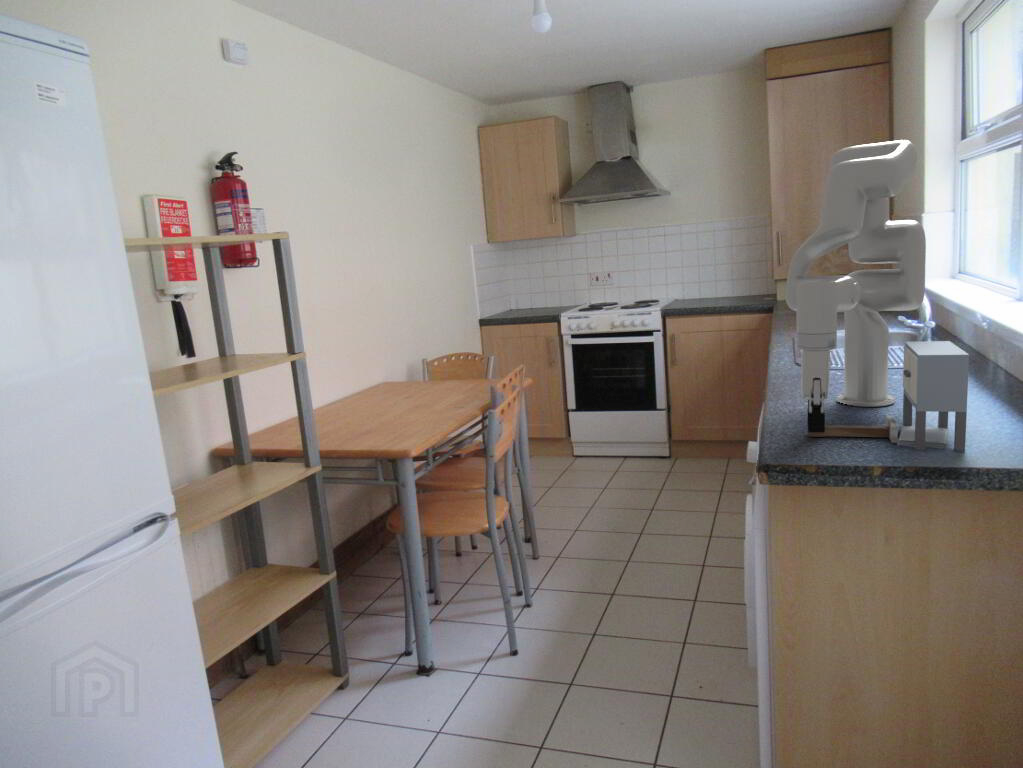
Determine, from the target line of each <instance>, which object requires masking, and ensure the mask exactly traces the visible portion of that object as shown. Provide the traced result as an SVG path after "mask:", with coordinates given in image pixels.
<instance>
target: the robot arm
mask: <svg viewBox="0 0 1023 768" xmlns="http://www.w3.org/2000/svg"><path fill="white" fill-rule="evenodd" d="M917 153H918V152H917V149H916V146H915V145H914V144H913V142H911V141H910V140H907V139H904V140H903V139H900V140H893V141H892V140H891V141H885V142H884V141H883V142H877V143H867V144H865V143H864V144H860V145H853V146H848V147H844V148H841V149H838V150H836V152H834V153H833V154H832V156H831V159H830V170H829V171H828V172H827V173H828V174H827V177H826V183H825V188H824V195H823V200H822V205H821V206H822V207H821V212H820V217H819V222H818V226H817V229H816V230H815V231H814V232H813V233H812V234H810V235H809V236H808V238H806V240H805V241H804V242H803V243H802V244H801V245H800V246H799V248H798V249H797V250H796V252H795V253H794V254H793V257H792V259H791V261H790V265H789V268H788V273H787V278H786V284H785V296H784V297H785V303H786V305H787V306H788V308H789V309H790V310H792V311H795V312H796V349H797V350H799V351H801V359H800V360H801V362H800V363H801V364H800V365H801V366H800V367H801V368H800V369H801V370H800V371H801V372H800V374H801V375H800V376H801V377H800V379H801V380H800V381H801V382H800V383H801V384H800V387H801V388H800V390H801V398H802V399H803V400H804V399H806V398H808V400H809V412H808V411H807V433H808V432H822V433H823V432H824V431H825V425H826V423H825V422H826V421H825V420H826V412H825V400H826V399H827V398H828V397H829V385H830V374H831V371H830V370H831V350H835V349H836V350H837V347H838V346H837V345H838V343H837V340H838V339H837V338H838V337H837V336H838V335H837V334H838V330H837V329H838V313H843V316H844V360H843V361H844V371H843V372H844V373H843V377H844V379H843V382H844V384H843V393H840V394H838V395H837V397H836V402H838V403H839V402H840V403H839V404H841V403H843V404H842V405H845V404H847V406H851V405H852V406H853V407H866V408H867V407H869V408H870V407H871V408H872V407H873V408H875V407H885V406H891V405H893V404H894V403H895V401H896V398H895V396H893V395H891V394H888V385H889V384H888V383H889V381H888V380H889V345H890V343H889V341H890V340H889V339H890V331H889V326H888V324H887V323H886V320H885V319H884V318H883V317H882V315H880V313H879V312H883V311H887V312H888V311H890V312H891V311H897V312H901V311H903V312H904V311H914V310H916V309H919V308H920V307H921V306H922V304H923V302H924V298H925V290H926V258H927V257H926V253H927V249H926V248H927V246H926V245H927V244H926V243H927V239H926V233H925V229H924V227H923V225H922V224H921V223H920V222H919V221H917V220H914V219H904V220H903V219H901V220H891V219H890V198H892V197H894V196H897V195H898V194H899V193H901V192H902V190H903V189H904V187H905V185H906V184H907V183H908V182H909V180H910V179H911V177H912V176H913V174H914V173H915V170H916V167H917V161H918V154H917ZM846 244H848V245H847V246H848V254H849V258H850V260H851V261H852V262H853V263H856V264H861V265H862V264H864V265H873V264H875V265H876V264H879V265H880V264H899V265H900V268H896V269H895V268H890V269H883V268H882V269H881V268H880V269H878V268H877V269H861V270H855V271H853V272H850V273H848V274H846V275H845V274H844V275H843V274H842V275H840V274H839V275H807V274H808V272H809V269H810V268H811V266H812V265H813V264H814V263H815V262H816V261H817V260H818V259H820V258H821V257H822V256H824V255H826V254H828V253H830V252H832V251H834V250H836V249H838V248H840V247H843V246H844V245H846ZM812 401H813V402H812ZM820 401H821V402H820Z"/></svg>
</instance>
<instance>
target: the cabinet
mask: <svg viewBox="0 0 1023 768" xmlns="http://www.w3.org/2000/svg"><path fill="white" fill-rule="evenodd" d="M969 364H970V354H969V353H967V352H966V351H965V350H963V349H961V348H960V347H959V346H958V345H956V344H954V343H953V342H952V341H950V340H945V341H944V340H938V341H937V340H932V341H929V340H926V341H904V345H903V364H902V365H903V368H902V370H903V371H902V388H903V398H902V401H903V402H902V403H903V405H902V406H903V407H902V426H913V408H914V409H915V419H914V421H915V425H914V426H915V447H914V450H915V451H916V450H925V451H926V447H925V429H926V427H927V424H926V423H927V421H926V420H927V412H932V413H933V412H935V413H936V412H937V413H938V414H937V415H938V418H937V419H938V420H937V428H946V429H948V428H949V412H950V413H951V412H952V413H953V412H954V413H955V416H954V437H953V440H954V441H953V444H954V445H953V450H954V452H955V451H960V453H964V452H965V453H966V440H967V439H966V435H967V433H966V432H967V415H968V414H967V413H968V391H969V390H968V388H969V387H968V384H969V367H970V365H969Z"/></svg>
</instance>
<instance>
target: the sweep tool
mask: <svg viewBox="0 0 1023 768" xmlns="http://www.w3.org/2000/svg"><path fill="white" fill-rule="evenodd" d="M812 402H813V401H812ZM820 402H821V401H820ZM808 412H809V399H808V400H807V413H808ZM885 420H886V424H885V426H883V425H882V426H881V425H880V426H879V425H878V426H877V425H831V424H830V425H828V424H827V425H826V424H825V431H824V432H823V433H822V432H808V431H807V436H808V437H814V438H815V437H820V438H822V437H823V438H824V437H852V438H853V437H854V438H855V437H857V438H889V440H890V442H891V444H897V441H898V438H899V436H898V434H899V427H898V424H897V423H896V421H895V418H894V416H893V415H892V414H886V419H885Z"/></svg>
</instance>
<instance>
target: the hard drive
mask: <svg viewBox="0 0 1023 768" xmlns="http://www.w3.org/2000/svg"><path fill="white" fill-rule="evenodd" d="M947 443H948V429H946V428H938V427H933V426H932V427H930V426H926V429H925V448H928V447H932V449H943V448H946V449H947V447H946V446H947ZM896 444H897V446H899V445H905V446H904V447H913V446H915V425H914V426H913V425H912V426H903V425H902V426H901V429H900V432H899V436H898V441H897V443H896Z"/></svg>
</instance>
